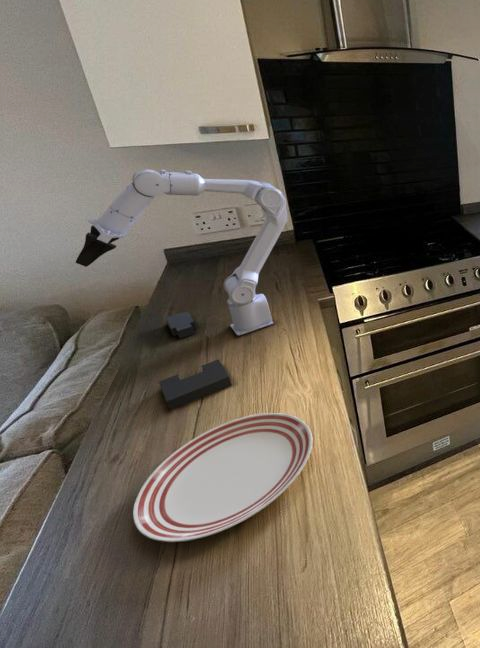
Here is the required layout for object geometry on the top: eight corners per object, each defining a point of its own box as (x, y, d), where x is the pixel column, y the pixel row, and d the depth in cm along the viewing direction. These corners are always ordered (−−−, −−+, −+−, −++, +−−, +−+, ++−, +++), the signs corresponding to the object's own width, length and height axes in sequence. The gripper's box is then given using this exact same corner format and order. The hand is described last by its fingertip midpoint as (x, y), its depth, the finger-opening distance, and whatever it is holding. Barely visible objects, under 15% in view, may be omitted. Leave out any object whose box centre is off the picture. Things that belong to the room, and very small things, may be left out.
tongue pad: (189, 318, 135) (187, 310, 134) (198, 332, 127) (196, 325, 127) (167, 324, 131) (165, 317, 130) (175, 340, 124) (172, 332, 123)
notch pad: (221, 367, 113) (218, 359, 112) (231, 384, 106) (229, 376, 105) (161, 389, 104) (158, 381, 104) (169, 410, 98) (166, 401, 97)
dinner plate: (120, 589, 64) (113, 574, 63) (152, 459, 86) (147, 446, 84) (324, 499, 78) (321, 486, 76) (307, 407, 99) (304, 395, 98)
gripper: (106, 198, 108) (66, 244, 105) (100, 208, 97) (55, 259, 95) (139, 214, 112) (102, 258, 110) (137, 225, 102) (95, 274, 99)
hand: (83, 260), depth 103 cm, fingers open, 7 cm apart
